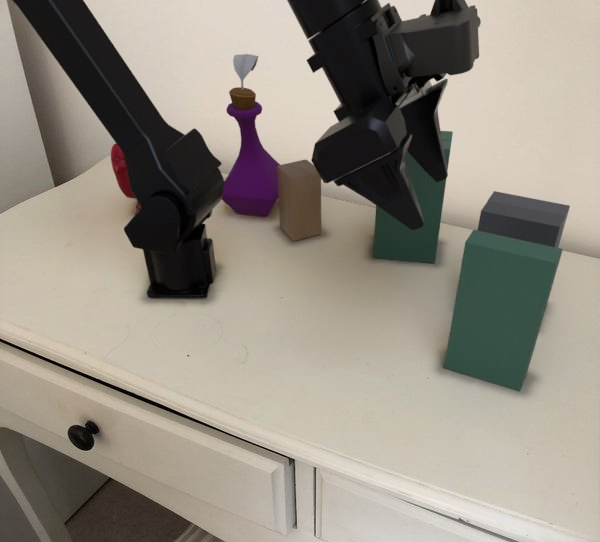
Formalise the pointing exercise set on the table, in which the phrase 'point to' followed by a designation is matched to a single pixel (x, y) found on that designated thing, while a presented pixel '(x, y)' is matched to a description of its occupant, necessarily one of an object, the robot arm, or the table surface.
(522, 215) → the charcoal book
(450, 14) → the robot arm
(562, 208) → the charcoal book
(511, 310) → the green book
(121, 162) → the decorative bird figurine
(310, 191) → the wooden block
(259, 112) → the perfume bottle
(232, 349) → the table surface
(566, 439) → the table surface
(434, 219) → the green book
